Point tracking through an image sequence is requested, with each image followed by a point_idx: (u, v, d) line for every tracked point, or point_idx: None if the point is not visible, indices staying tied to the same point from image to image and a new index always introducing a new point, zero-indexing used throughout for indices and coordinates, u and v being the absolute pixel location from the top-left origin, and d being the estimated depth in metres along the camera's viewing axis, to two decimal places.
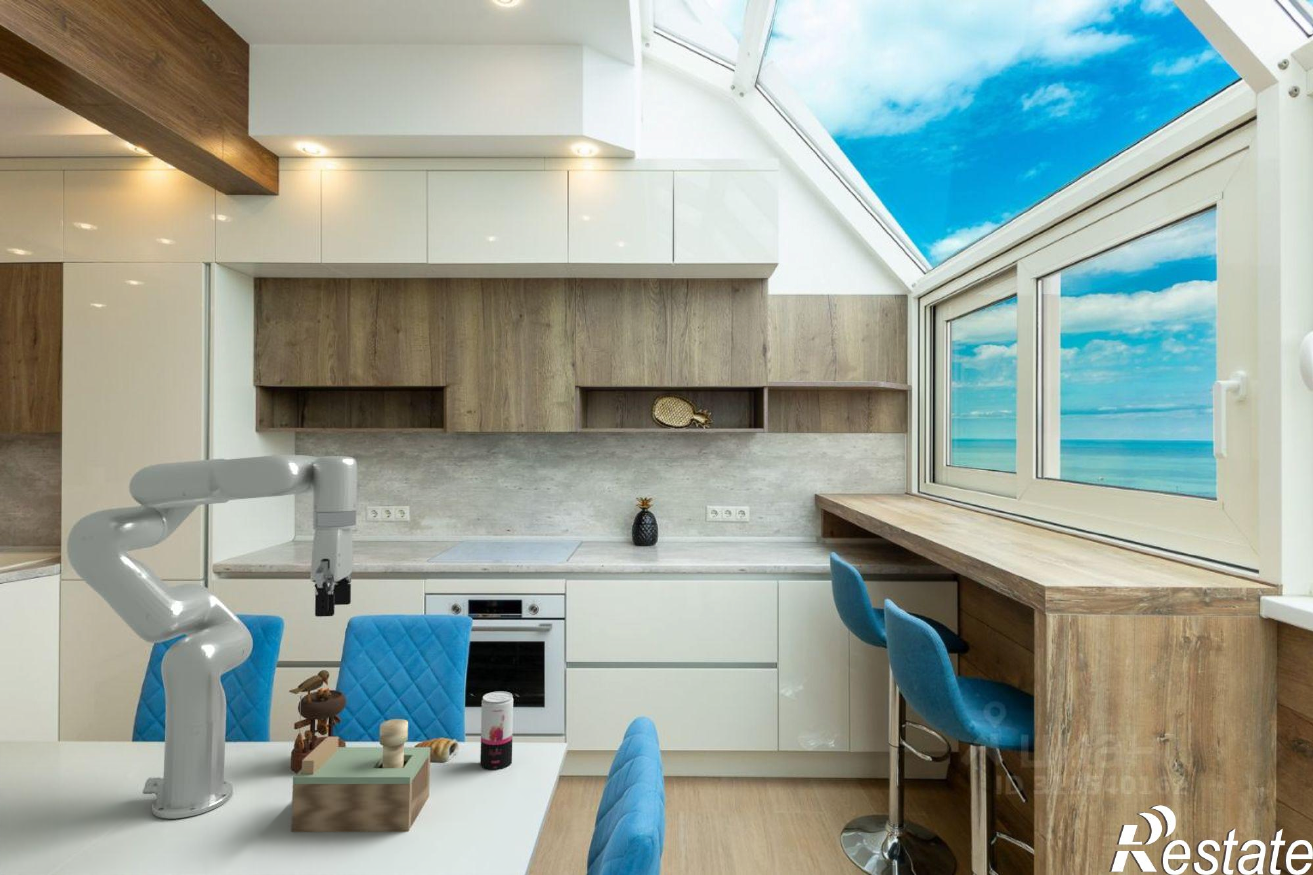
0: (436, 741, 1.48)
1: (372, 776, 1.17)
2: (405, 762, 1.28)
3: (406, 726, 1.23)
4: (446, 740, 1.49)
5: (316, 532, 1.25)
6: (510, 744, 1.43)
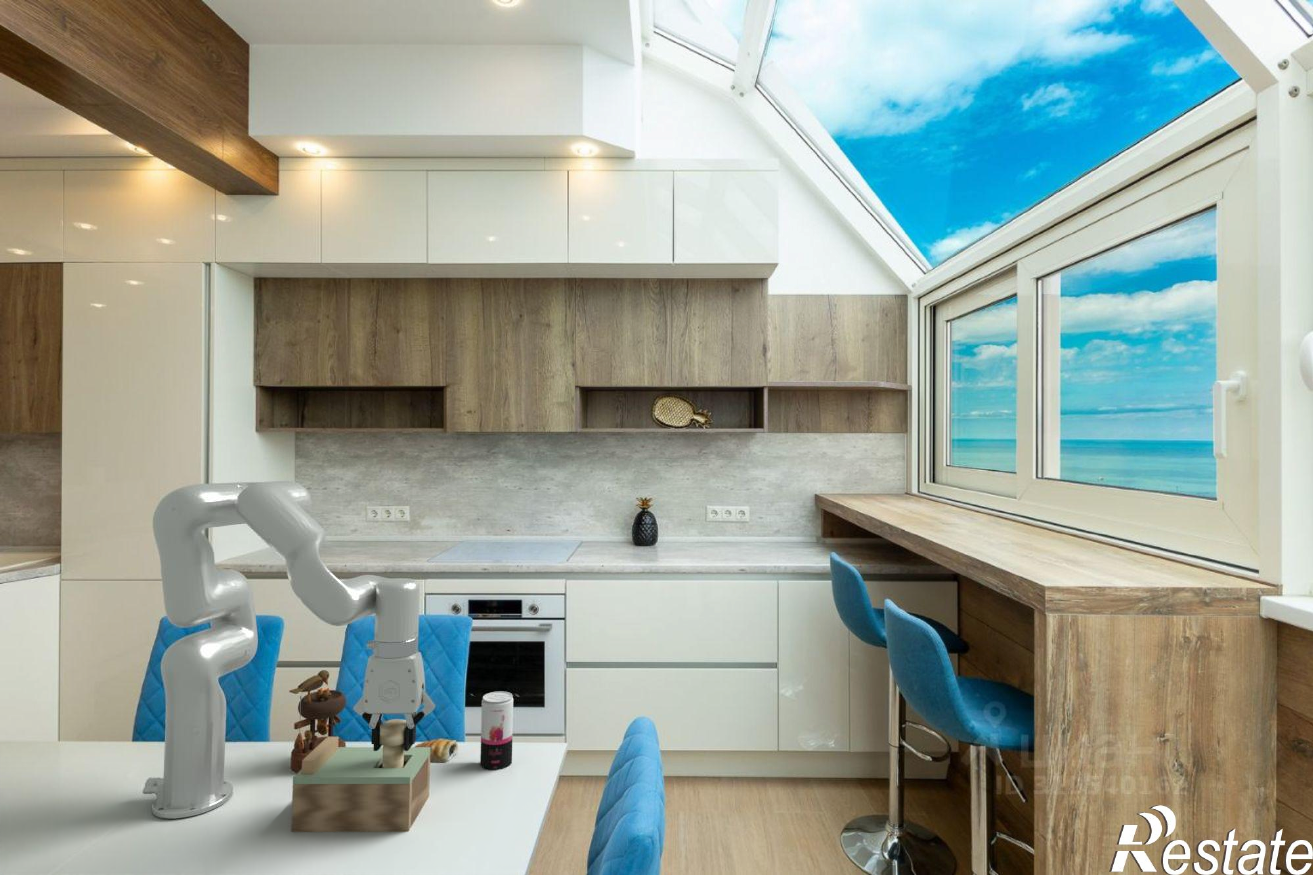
0: (435, 742, 1.47)
1: (372, 776, 1.17)
2: (405, 762, 1.28)
3: (406, 726, 1.23)
4: (445, 741, 1.48)
5: (415, 660, 1.22)
6: (510, 744, 1.43)
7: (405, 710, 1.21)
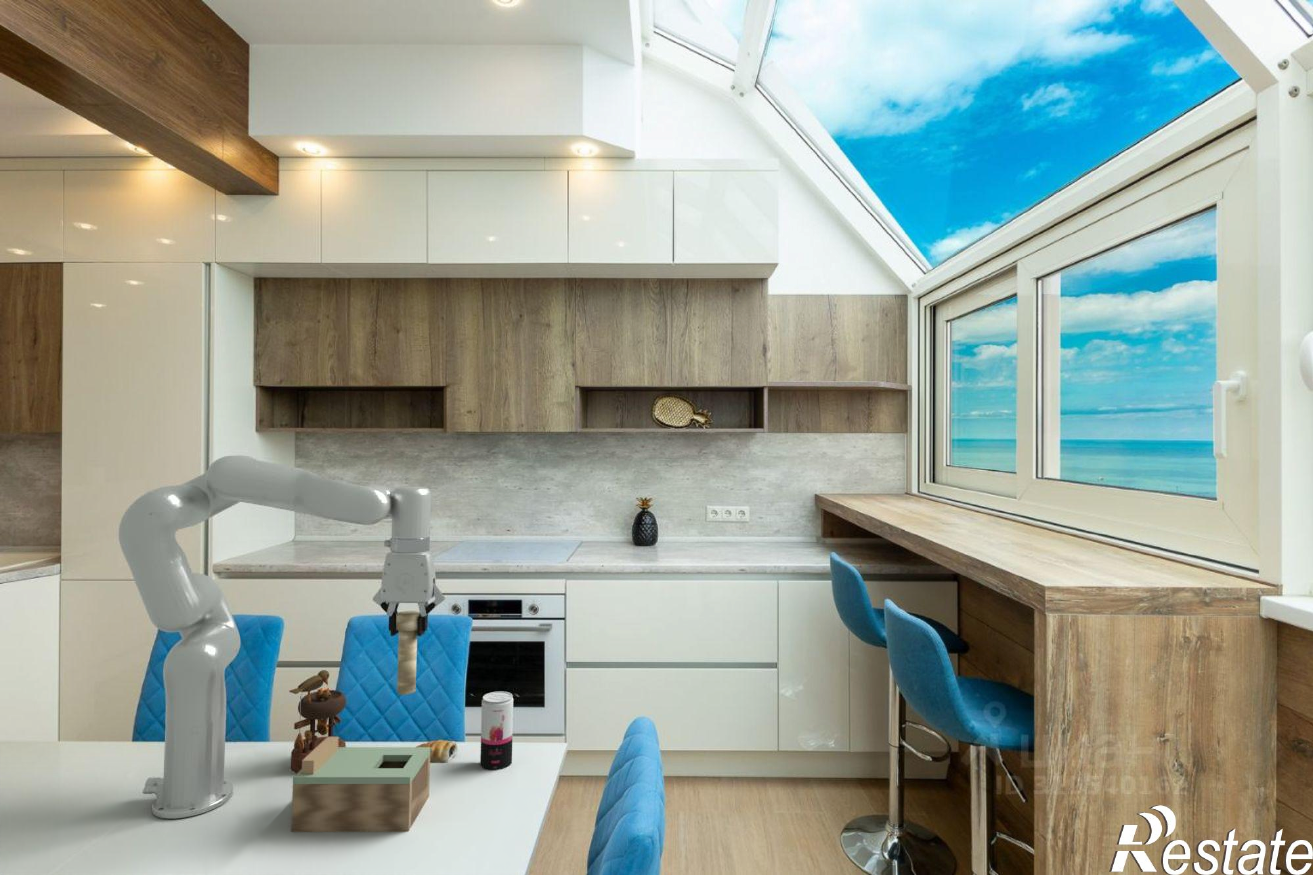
0: (435, 743, 1.47)
1: (372, 776, 1.17)
2: (405, 762, 1.28)
3: (419, 615, 1.39)
4: (445, 742, 1.48)
5: (427, 556, 1.38)
6: (510, 744, 1.43)
7: (418, 599, 1.37)
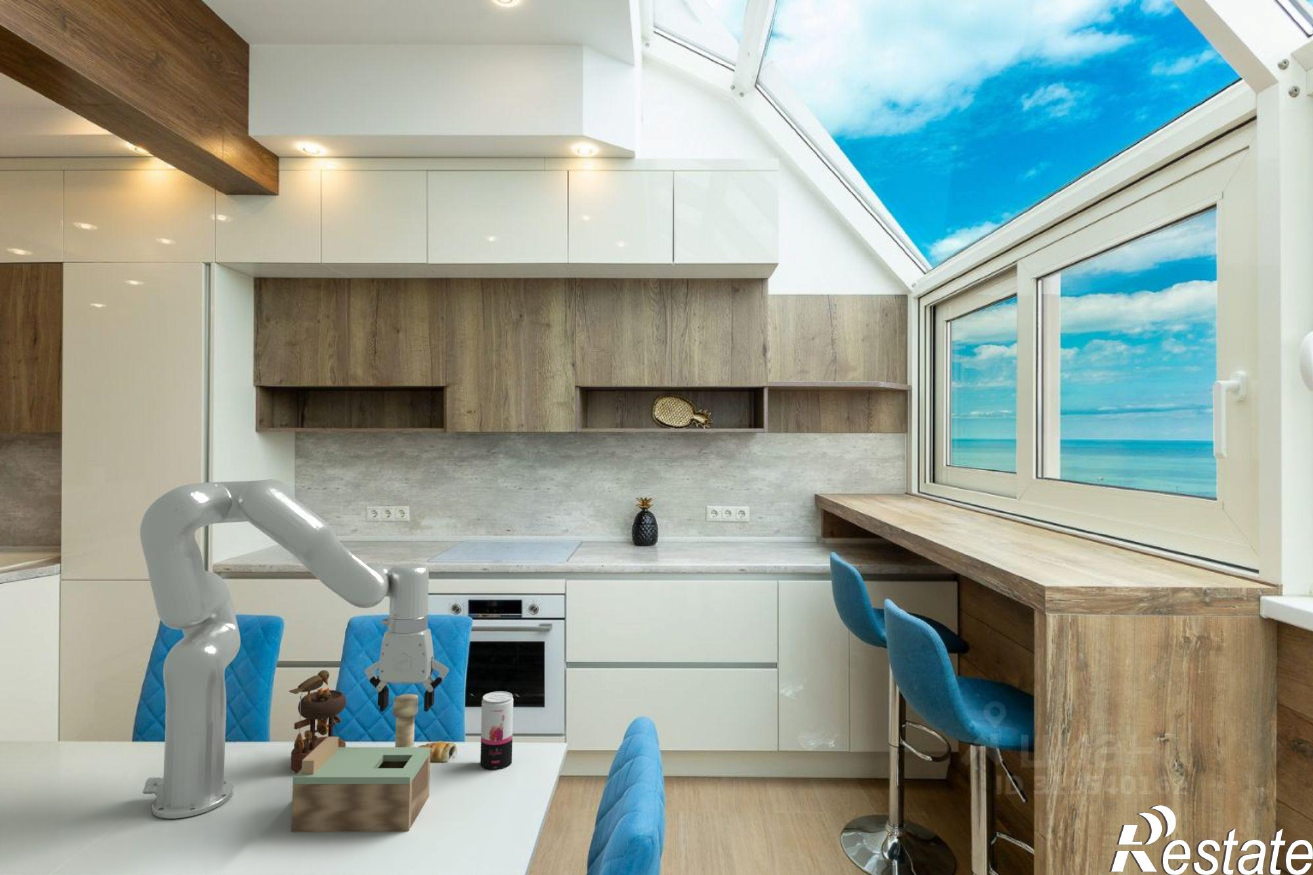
0: (435, 745, 1.46)
1: (372, 776, 1.17)
2: (405, 762, 1.28)
3: (416, 700, 1.39)
4: (444, 743, 1.47)
5: (425, 635, 1.38)
6: (510, 744, 1.43)
7: (416, 679, 1.36)
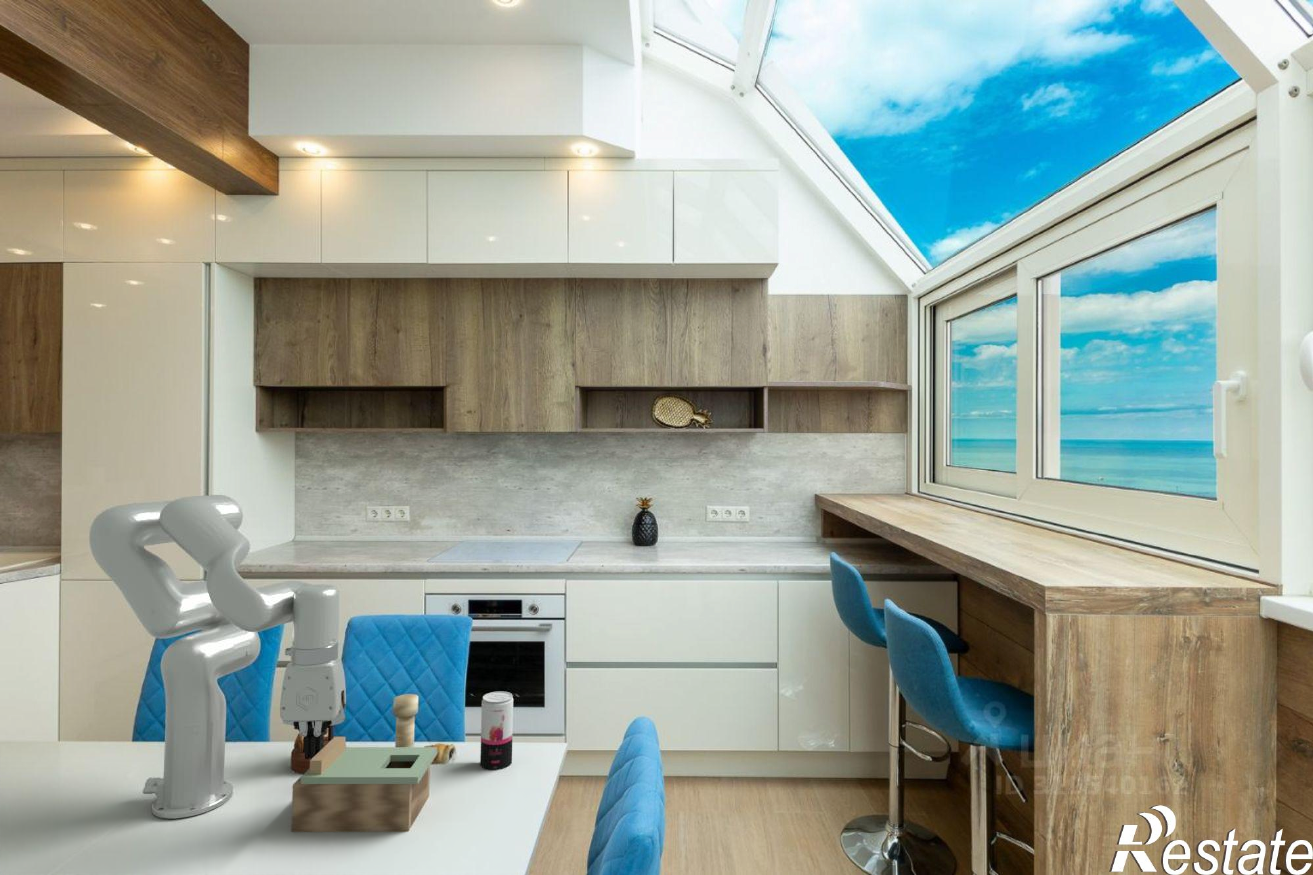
0: None
1: (380, 776, 1.17)
2: (405, 762, 1.28)
3: (417, 700, 1.39)
4: (444, 745, 1.46)
5: (334, 667, 1.21)
6: (510, 744, 1.43)
7: (323, 717, 1.20)
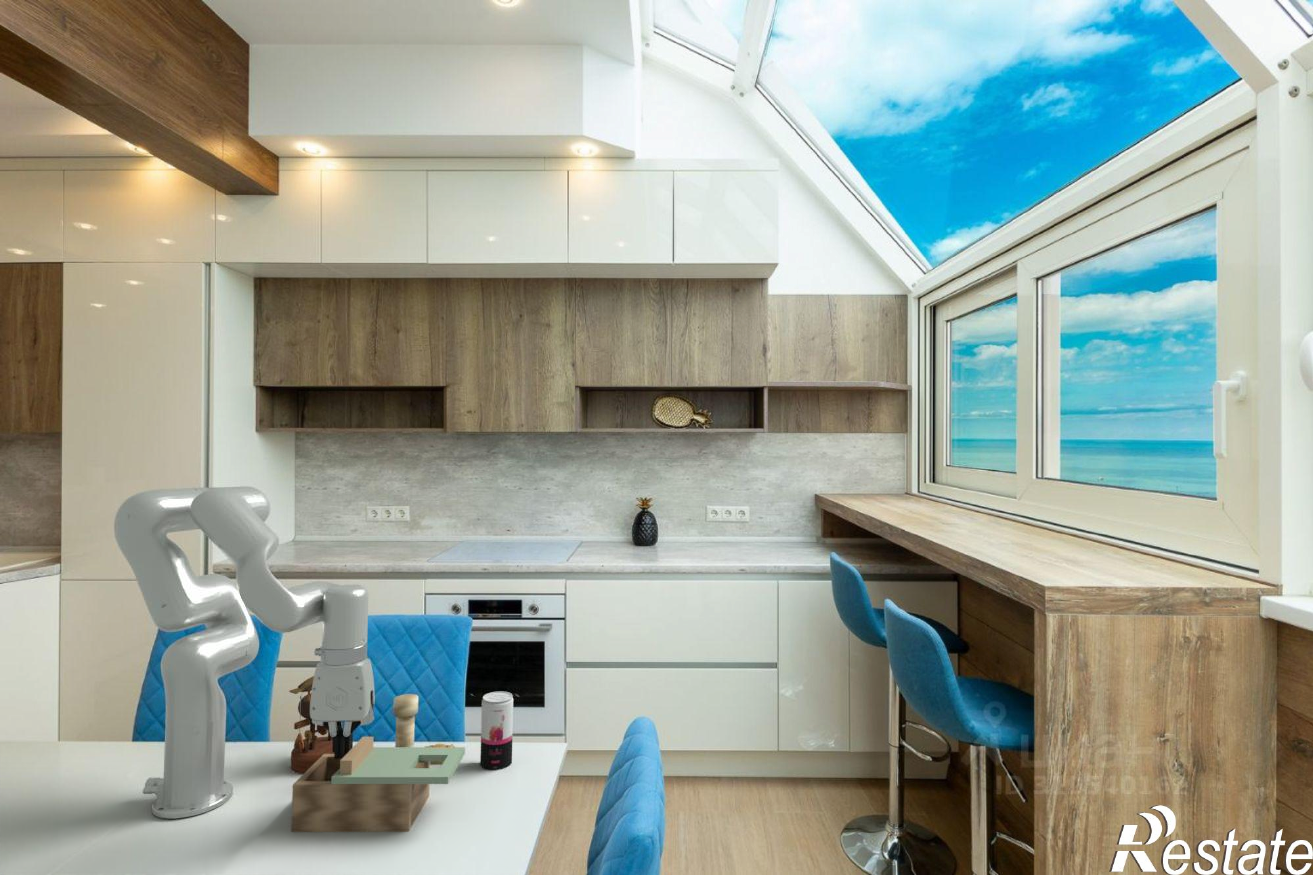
0: None
1: (410, 776, 1.17)
2: None
3: (417, 700, 1.39)
4: (444, 746, 1.46)
5: (363, 667, 1.21)
6: (510, 744, 1.43)
7: (353, 717, 1.20)
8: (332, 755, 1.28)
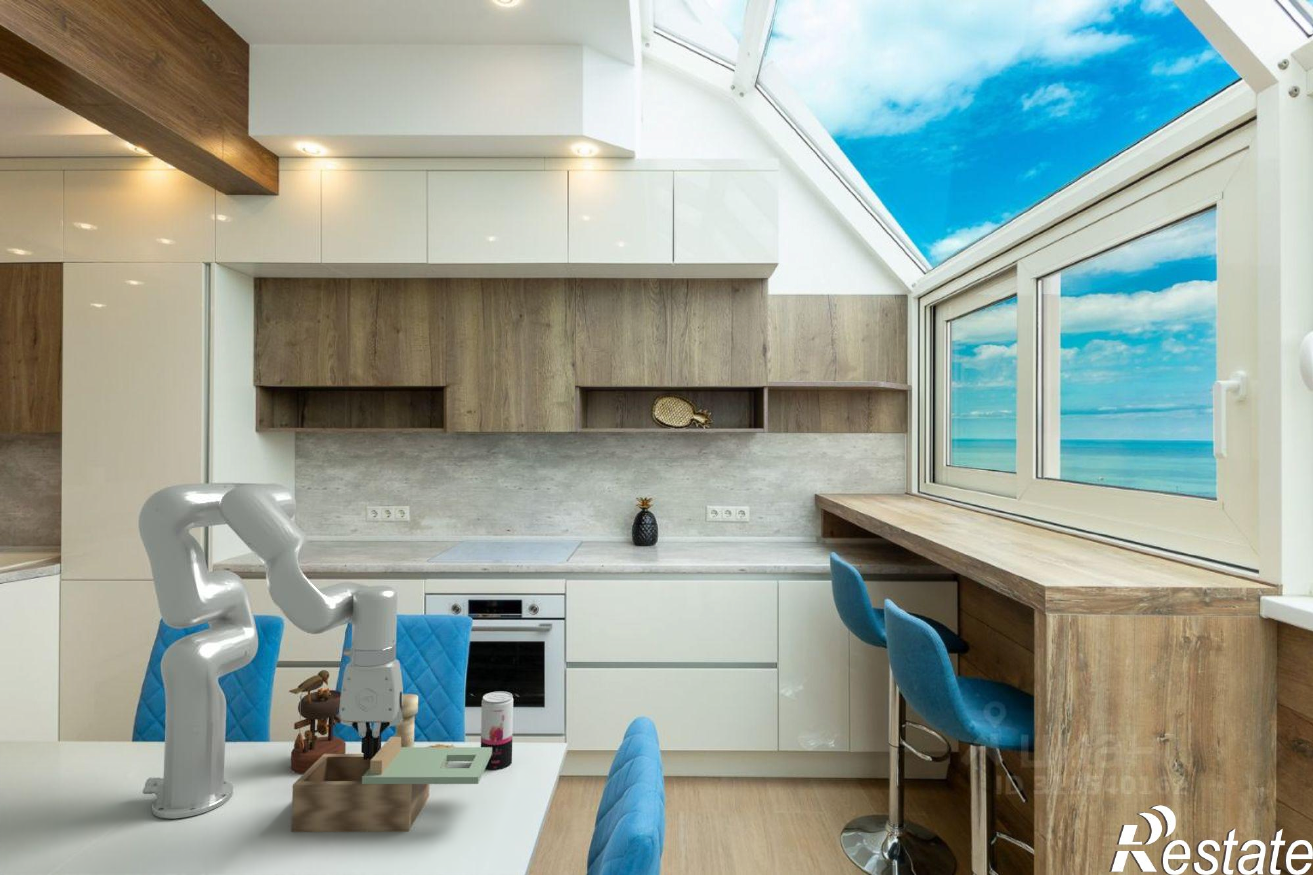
0: None
1: (440, 776, 1.18)
2: None
3: (416, 700, 1.39)
4: (444, 746, 1.46)
5: (393, 668, 1.22)
6: (510, 744, 1.43)
7: (382, 718, 1.20)
8: (332, 755, 1.28)
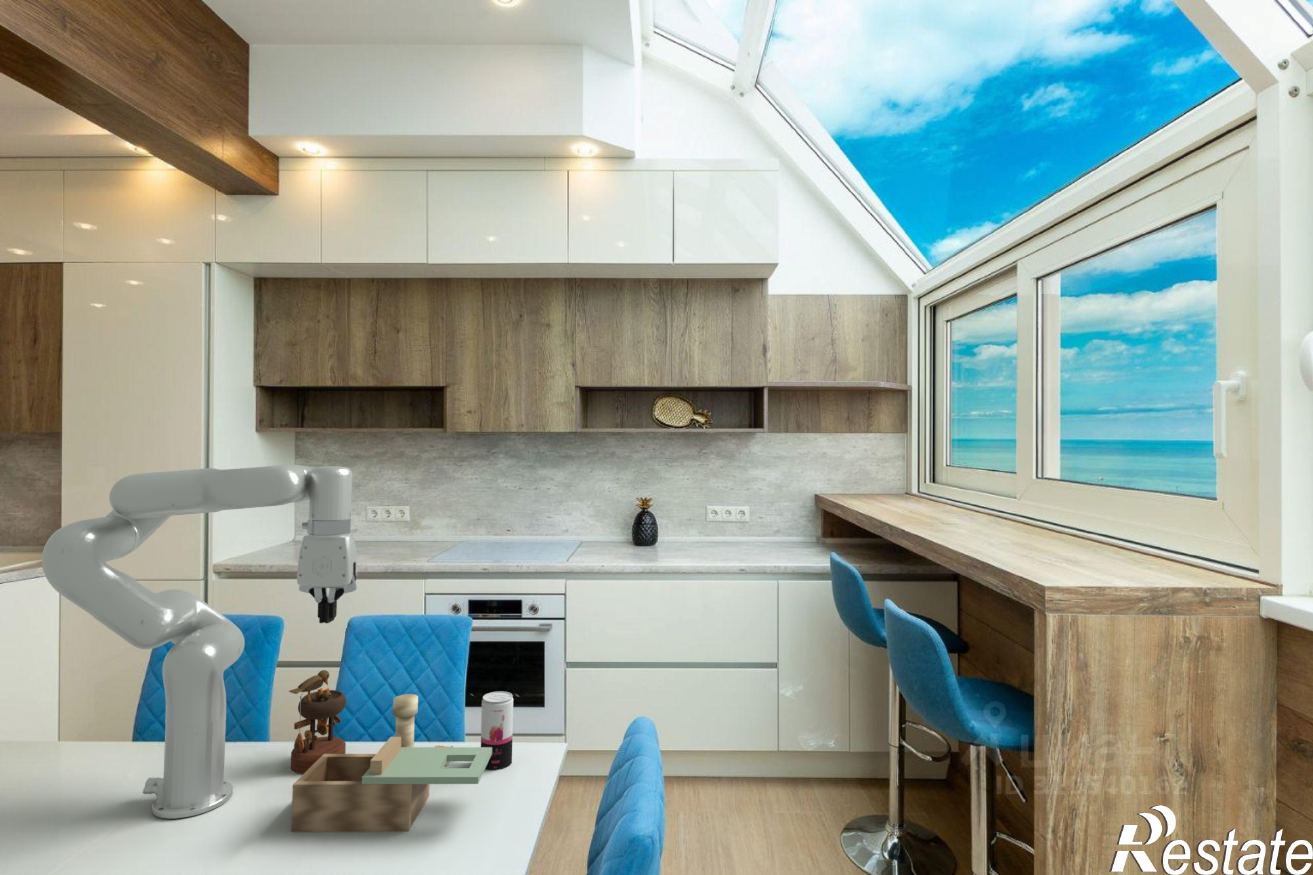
0: None
1: (440, 776, 1.18)
2: None
3: (416, 700, 1.39)
4: None
5: (347, 539, 1.32)
6: (510, 744, 1.43)
7: (336, 584, 1.30)
8: (332, 755, 1.28)
